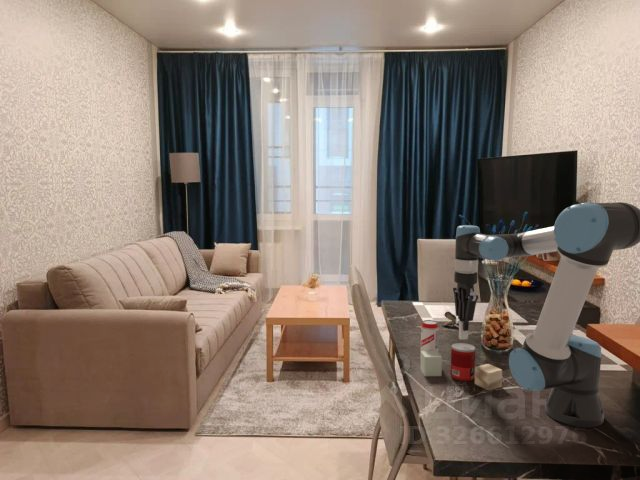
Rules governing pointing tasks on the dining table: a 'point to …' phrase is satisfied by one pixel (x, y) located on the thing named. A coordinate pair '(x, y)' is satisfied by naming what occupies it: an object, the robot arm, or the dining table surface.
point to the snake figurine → (450, 317)
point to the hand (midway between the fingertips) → (463, 338)
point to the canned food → (462, 362)
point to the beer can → (429, 336)
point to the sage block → (431, 363)
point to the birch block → (488, 377)
